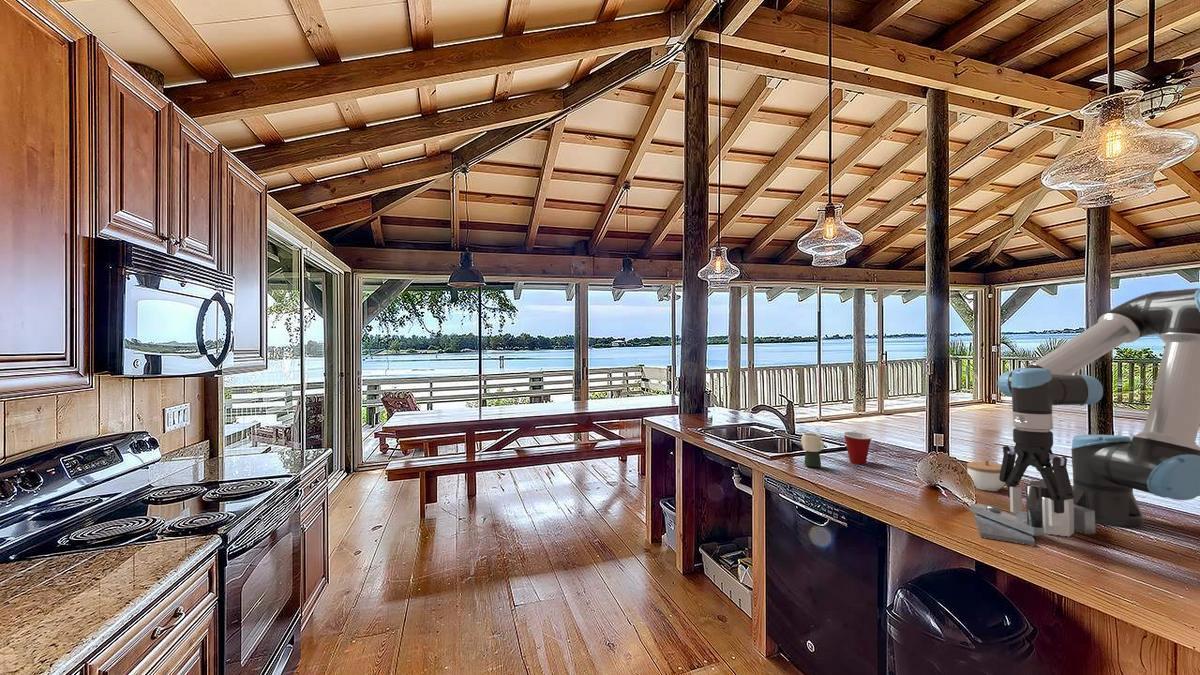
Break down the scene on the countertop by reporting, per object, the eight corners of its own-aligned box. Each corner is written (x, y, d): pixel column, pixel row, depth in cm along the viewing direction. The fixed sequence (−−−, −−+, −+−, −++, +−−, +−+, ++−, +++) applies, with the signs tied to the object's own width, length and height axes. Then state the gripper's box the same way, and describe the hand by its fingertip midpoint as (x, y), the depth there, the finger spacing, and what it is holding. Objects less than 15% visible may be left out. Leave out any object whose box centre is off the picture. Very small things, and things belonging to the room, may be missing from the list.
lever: (970, 511, 136) (969, 469, 136) (986, 509, 137) (984, 468, 137) (1035, 536, 118) (1034, 488, 119) (1053, 534, 119) (1052, 487, 119)
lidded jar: (962, 488, 162) (962, 460, 162) (972, 481, 168) (972, 455, 168) (1003, 495, 153) (1002, 466, 153) (1011, 488, 160) (1011, 461, 160)
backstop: (1061, 522, 131) (1060, 500, 131) (1095, 533, 123) (1094, 510, 123) (1052, 523, 130) (1051, 501, 130) (1085, 534, 122) (1084, 511, 122)
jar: (1084, 536, 121) (1082, 489, 121) (1054, 538, 121) (1052, 490, 121) (1049, 523, 130) (1048, 479, 130) (1021, 524, 130) (1019, 480, 130)
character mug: (830, 468, 189) (829, 435, 189) (817, 470, 186) (816, 437, 186) (808, 462, 199) (807, 431, 199) (795, 464, 196) (794, 433, 196)
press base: (1019, 518, 134) (1019, 514, 134) (1035, 546, 116) (1035, 541, 116) (972, 511, 140) (972, 507, 140) (980, 537, 122) (980, 532, 122)
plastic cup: (868, 467, 189) (867, 437, 189) (839, 463, 197) (839, 434, 197) (877, 462, 196) (876, 433, 196) (849, 458, 204) (849, 430, 204)
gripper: (980, 422, 131) (982, 504, 130) (1066, 438, 109) (1069, 536, 109) (1003, 421, 132) (1006, 503, 131) (1094, 436, 110) (1097, 533, 110)
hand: (1035, 518), depth 120 cm, fingers open, 9 cm apart
